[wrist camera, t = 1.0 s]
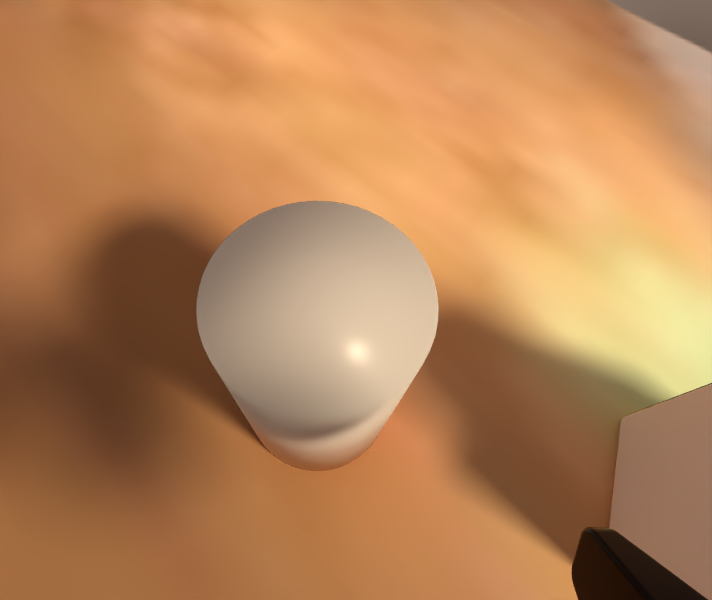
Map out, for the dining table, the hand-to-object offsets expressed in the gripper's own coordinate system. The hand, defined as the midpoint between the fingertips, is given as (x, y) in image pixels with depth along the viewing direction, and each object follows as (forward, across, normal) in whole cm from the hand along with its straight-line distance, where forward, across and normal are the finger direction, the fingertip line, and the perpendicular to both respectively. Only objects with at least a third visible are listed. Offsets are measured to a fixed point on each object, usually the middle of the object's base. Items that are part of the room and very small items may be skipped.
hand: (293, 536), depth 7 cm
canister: (+13, 0, +5) cm, 14 cm away
